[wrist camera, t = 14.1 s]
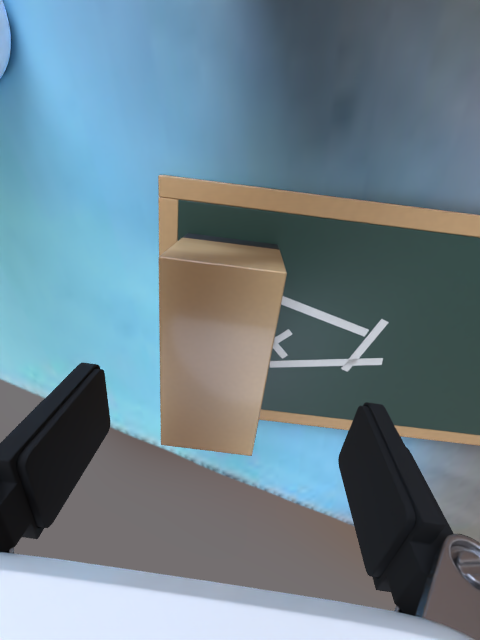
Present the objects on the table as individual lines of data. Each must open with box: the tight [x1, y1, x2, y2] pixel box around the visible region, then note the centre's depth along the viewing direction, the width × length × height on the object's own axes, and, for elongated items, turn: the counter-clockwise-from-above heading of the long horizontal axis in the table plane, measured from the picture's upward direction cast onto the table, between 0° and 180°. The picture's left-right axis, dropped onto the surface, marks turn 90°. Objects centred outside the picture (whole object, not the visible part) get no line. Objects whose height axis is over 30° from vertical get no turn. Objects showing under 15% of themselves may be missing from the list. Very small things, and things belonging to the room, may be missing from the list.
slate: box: [158, 175, 480, 446], centre depth 18 cm, size 24×15×1 cm, turn 84°
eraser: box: [159, 233, 287, 456], centre depth 15 cm, size 5×10×5 cm, turn 174°
